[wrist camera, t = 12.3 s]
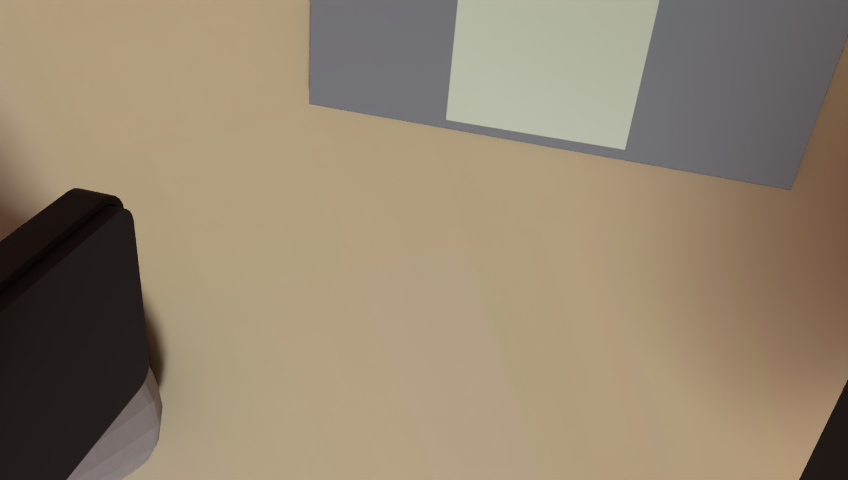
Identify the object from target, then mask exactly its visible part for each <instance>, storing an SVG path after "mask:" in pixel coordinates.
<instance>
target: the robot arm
mask: <svg viewBox="0 0 848 480" xmlns="http://www.w3.org/2000/svg"><path fill="white" fill-rule="evenodd" d="M148 370H149V353H148V344H147V336H146V327H145V318H144V309H143V300H142V291H141V282H140V273H139V264H138V255H137V246H136V237H135V229H134V220H133V216H132V214H131V212H130V211H129V210H127V209H124V207H123V204H122V202H121V200H120V199H119V198H117V197H116V196H113V195H108V194H103V193H99V192H94V191H89V190H84V189H79V188H74V189H72V190H70V191H68V192H66V193H65V194H64V195H62V196H61V197H60V198H58V199H57V200H56V201H54V202H53V203H52V204H50V205H49V206H48V207H46V208H45V209H44V210H42V211H41V212H40V213H38V214H37V215H35V216H34V217H33V218H31V219H30V220H29V221H27V222H26V223H25V224H23V225H22V226H21V227H19V228H18V229H17V230H15V231H14V232H13V233H11V234H10V235H9V236H7V237H6V238H5V239H3V240H2V241H1V242H0V480H67V479H68V477H69V476H70V475H71V474H72V472H73V471H74V470H75V469H76V468H77V466H78V465H79V464H80V463H81V461H82V460H83V459H84V458H85V456H86V455H87V454H88V453H89V451H90V450H91V449H92V448H93V446H94V445H95V444H96V443H97V442H98V440H99V439H100V438H101V437H102V435H103V434H104V433H105V432H106V430H107V429H108V428H109V427H110V425H111V424H112V423H113V422H114V421H115V419H116V418H117V417H118V416H119V414H120V413H121V412H122V411H123V409H124V408H125V407H126V406H127V404H128V403H129V402H130V401H131V399H132V398H133V397H134V396H135V395H136V393H137V392H138V391H139V390H140V388H141V387H142V385H143V384H144V382H145V379H146V377H147V374H148ZM799 480H848V380H847V383H846V385H845V387H844V389H843V391H842V393H841V395H840V397H839V399H838V401H837V403H836V405H835V407H834V409H833V411H832V413H831V415H830V418H829V420H828V422H827V424H826V426H825V428H824V430H823V432H822V434H821V436H820V438H819V440H818V442H817V444H816V446H815V448H814V450H813V453H812V455H811V457H810V459H809V461H808V463H807V465H806V467H805V469H804V471H803V473H802V475H801V477H800V479H799Z"/></svg>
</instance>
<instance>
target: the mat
mask: <svg viewBox="0 0 848 480" xmlns="http://www.w3.org/2000/svg"><path fill="white" fill-rule="evenodd" d="M457 5H458V0H311V22H310V89H309V104H313V105H318V106H324V107H329V108H335V109H340V110H346V111H352V112H357V113H363V114H368V115H374V116H380V117H385V118H391V119H396V120H402V121H407V122H413V123H419V124H424V125H430V126H435V127H441V128H447V129H452V130H458V131H463V132H469V133H474V134H480V135H486V136H491V137H497V138H502V139H508V140H514V141H519V142H525V143H530V144H536V145H541V146H547V147H553V148H558V149H564V150H569V151H575V152H581V153H586V154H592V155H597V156H603V157H608V158H614V159H620V160H625V161H631V162H636V163H642V164H648V165H653V166H659V167H664V168H670V169H676V170H681V171H687V172H692V173H698V174H703V175H709V176H715V177H720V178H726V179H731V180H737V181H743V182H748V183H754V184H759V185H765V186H770V187H776V188H782V189H787V190H790V189H791V187H792V184H793V181H794V179H795V176H796V173H797V170H798V168H799V165H800V162H801V160H802V157H803V154H804V152H805V149H806V146H807V144H808V141H809V138H810V136H811V133H812V130H813V128H814V125H815V122H816V120H817V117H818V114H819V112H820V109H821V106H822V104H823V101H824V98H825V96H826V93H827V90H828V88H829V85H830V82H831V80H832V77H833V74H834V72H835V69H836V66H837V64H838V61H839V58H840V55H841V53H842V50H843V47H844V45H845V42H846V39H847V37H848V0H659V5H658V9H657V13H656V18H655V22H654V26H653V31H652V35H651V39H650V44H649V48H648V52H647V57H646V61H645V65H644V70H643V74H642V78H641V83H640V87H639V91H638V96H637V100H636V104H635V109H634V113H633V117H632V121H631V126H630V130H629V134H628V139H627V143H626V147H625V150H623V149H617V148H611V147H605V146H599V145H593V144H587V143H581V142H575V141H569V140H564V139H558V138H552V137H546V136H540V135H534V134H528V133H522V132H516V131H510V130H504V129H498V128H492V127H486V126H480V125H474V124H468V123H462V122H456V121H450V120H446V114H447V104H448V94H449V84H450V74H451V64H452V54H453V44H454V34H455V25H456V15H457Z"/></svg>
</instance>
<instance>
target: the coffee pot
mask: <svg viewBox="0 0 848 480" xmlns="http://www.w3.org/2000/svg"><path fill="white" fill-rule="evenodd" d="M161 415H162V402H161V398H160V393H159V389H158V385H157V382H156V379H155V377H154V374H153V372H152V370H151V368H150V365H149V370H148V374H147V377H146V379H145V382H144V384H143V385H142V387H141V388H140V390H139V391H138V392H137V393H136V395H135V396H134V397H133V398H132V399H131V401H130V402H129V403H128V404H127V406H126V407H125V408H124V409H123V411H122V412H121V413H120V414H119V416H118V417H117V418H116V419H115V421H114V422H113V423H112V424H111V425H110V427H109V428H108V429H107V430H106V432H105V433H104V434H103V435H102V437H101V438H100V439H99V440H98V442H97V443H96V444H95V445H94V446H93V448H92V449H91V450H90V451H89V453H88V454H87V455H86V456H85V458H84V459H83V460H82V461H81V463H80V464H79V465H78V466H77V468H76V469H75V470H74V471H73V472H72V474H71V475H70V476H69V477H68V479H67V480H121V479H123V478H125V477H126V476H128V475H130V474H131V473H132V472H134V471H135V470H136V469H138V468H139V467H140V466H142V465H143V464H144V463H145V462H146V461H148V459H149V457H150V455H151V454H152V452H153V450H154V448H155V446H156V445H157V442H158V440H159V432H160V424H161Z"/></svg>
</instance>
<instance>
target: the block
mask: <svg viewBox="0 0 848 480" xmlns="http://www.w3.org/2000/svg"><path fill="white" fill-rule="evenodd" d="M658 5H659V0H458V5H457V15H456V25H455V34H454V44H453V54H452V64H451V74H450V84H449V94H448V104H447V114H446V120H450V121H456V122H462V123H468V124H474V125H480V126H486V127H492V128H498V129H504V130H510V131H516V132H522V133H528V134H534V135H540V136H546V137H552V138H558V139H564V140H569V141H575V142H581V143H587V144H593V145H599V146H605V147H611V148H617V149H623V150H625V147H626V143H627V139H628V134H629V130H630V126H631V121H632V117H633V113H634V109H635V104H636V100H637V96H638V91H639V87H640V83H641V78H642V74H643V70H644V65H645V61H646V57H647V52H648V48H649V44H650V39H651V35H652V31H653V26H654V22H655V18H656V13H657V9H658Z"/></svg>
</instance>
